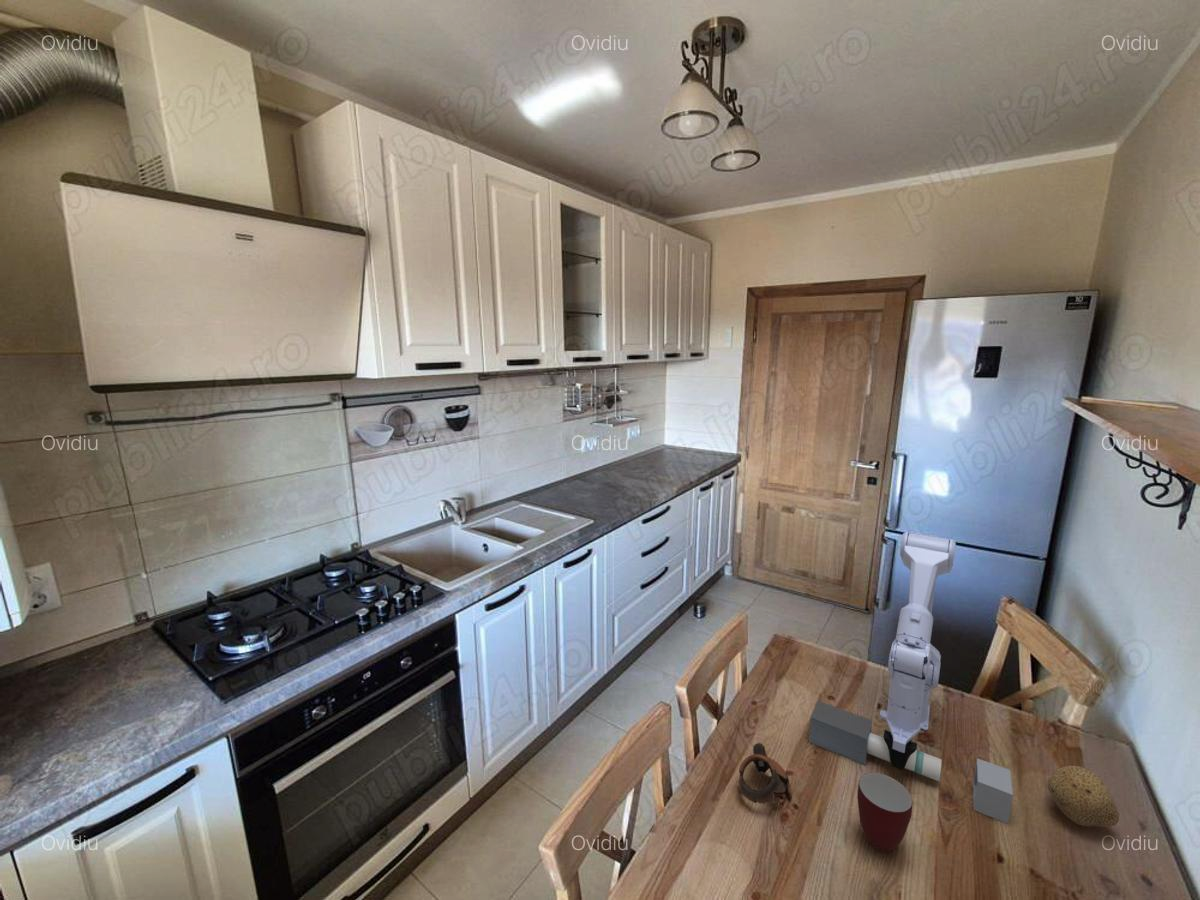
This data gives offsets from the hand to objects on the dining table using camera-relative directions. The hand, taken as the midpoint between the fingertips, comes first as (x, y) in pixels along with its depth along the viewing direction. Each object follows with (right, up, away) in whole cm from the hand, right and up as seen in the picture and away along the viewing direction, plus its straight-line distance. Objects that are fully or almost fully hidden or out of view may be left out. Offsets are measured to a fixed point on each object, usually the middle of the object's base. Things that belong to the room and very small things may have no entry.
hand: (898, 759), depth 102 cm
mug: (-12, -5, -14) cm, 19 cm away
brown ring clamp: (-29, -3, -4) cm, 30 cm away
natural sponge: (+25, -4, -11) cm, 28 cm away
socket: (+12, -3, -8) cm, 15 cm away
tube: (-4, 0, +3) cm, 5 cm away
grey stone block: (-9, -1, +7) cm, 11 cm away
